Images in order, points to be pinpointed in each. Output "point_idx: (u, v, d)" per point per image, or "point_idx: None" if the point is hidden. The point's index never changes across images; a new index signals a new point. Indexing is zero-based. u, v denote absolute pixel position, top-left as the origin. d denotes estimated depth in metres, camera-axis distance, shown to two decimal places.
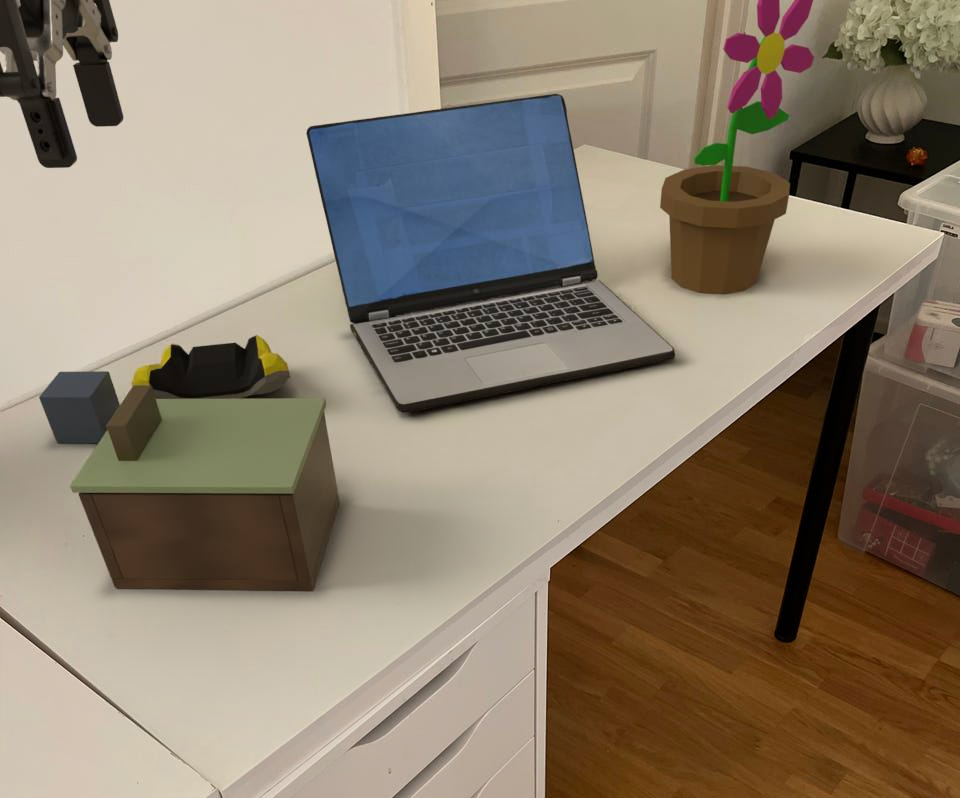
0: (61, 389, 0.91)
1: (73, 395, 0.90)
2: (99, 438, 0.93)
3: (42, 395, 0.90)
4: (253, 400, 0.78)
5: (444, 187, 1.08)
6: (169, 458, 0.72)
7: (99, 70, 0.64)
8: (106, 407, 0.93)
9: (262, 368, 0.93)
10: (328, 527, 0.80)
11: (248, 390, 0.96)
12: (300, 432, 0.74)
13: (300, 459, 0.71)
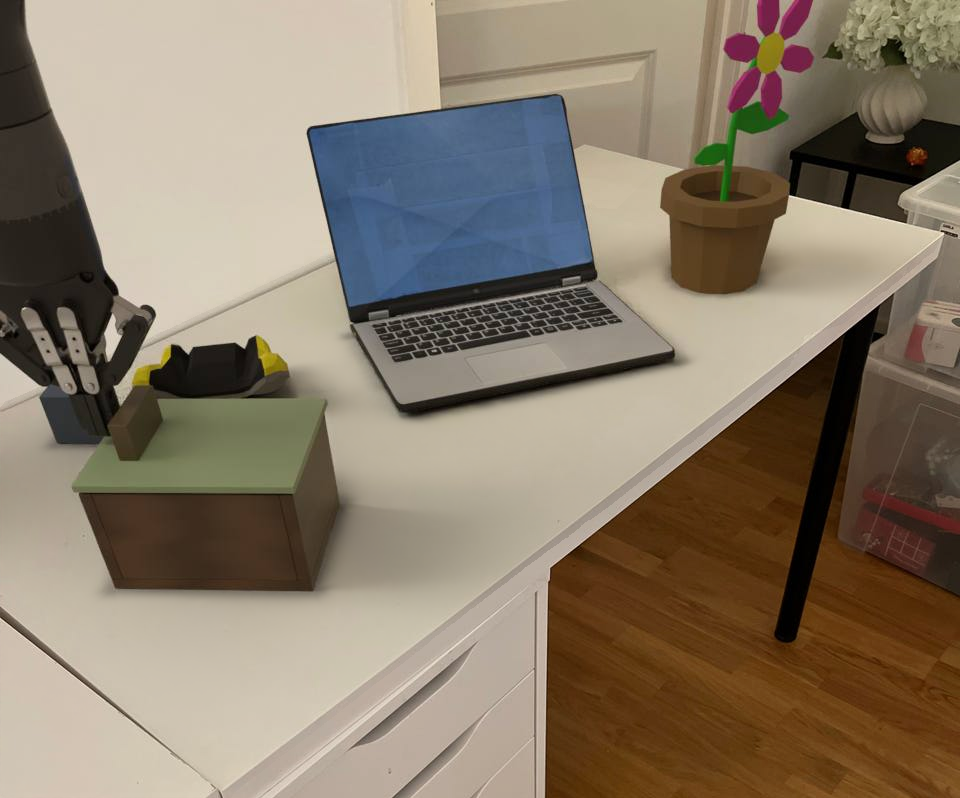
0: (61, 389, 0.91)
1: None
2: (99, 438, 0.93)
3: (42, 395, 0.90)
4: (254, 400, 0.78)
5: (444, 187, 1.08)
6: (170, 458, 0.72)
7: None
8: None
9: (262, 368, 0.93)
10: (328, 527, 0.80)
11: (248, 390, 0.96)
12: (301, 432, 0.74)
13: (301, 459, 0.71)
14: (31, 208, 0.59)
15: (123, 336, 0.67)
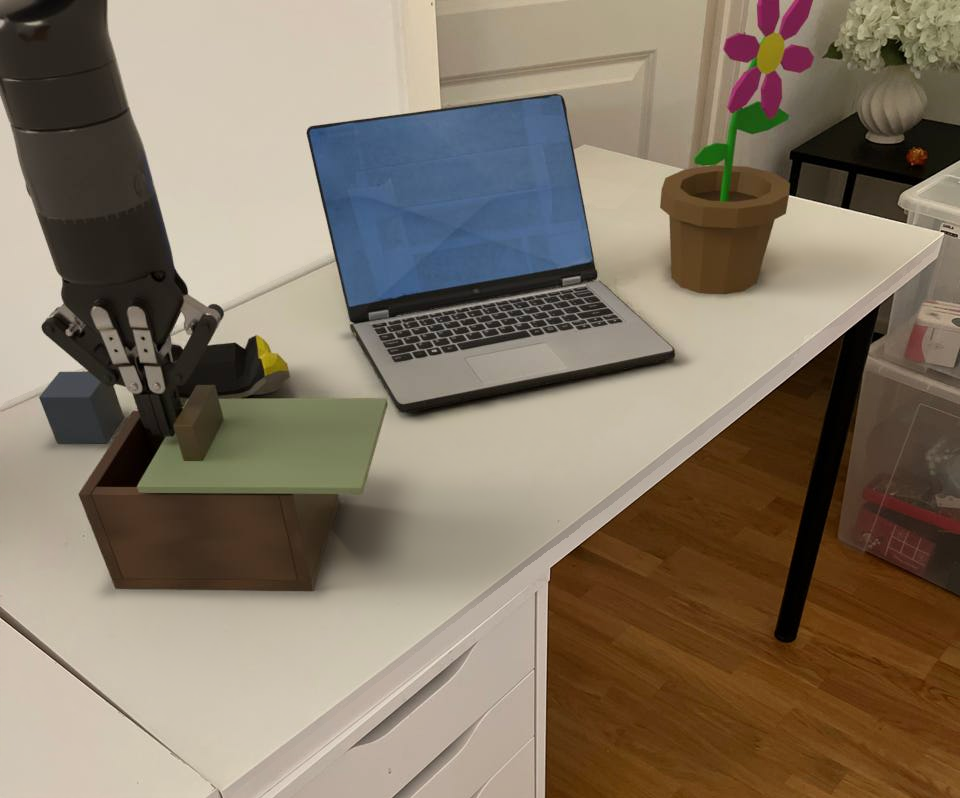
0: (61, 389, 0.91)
1: (73, 395, 0.90)
2: (99, 438, 0.93)
3: (42, 395, 0.90)
4: (314, 400, 0.77)
5: (444, 187, 1.08)
6: (234, 459, 0.71)
7: None
8: (106, 407, 0.93)
9: (262, 368, 0.93)
10: (328, 527, 0.80)
11: (248, 390, 0.96)
12: (365, 432, 0.73)
13: (367, 459, 0.71)
14: (108, 207, 0.59)
15: (192, 336, 0.66)
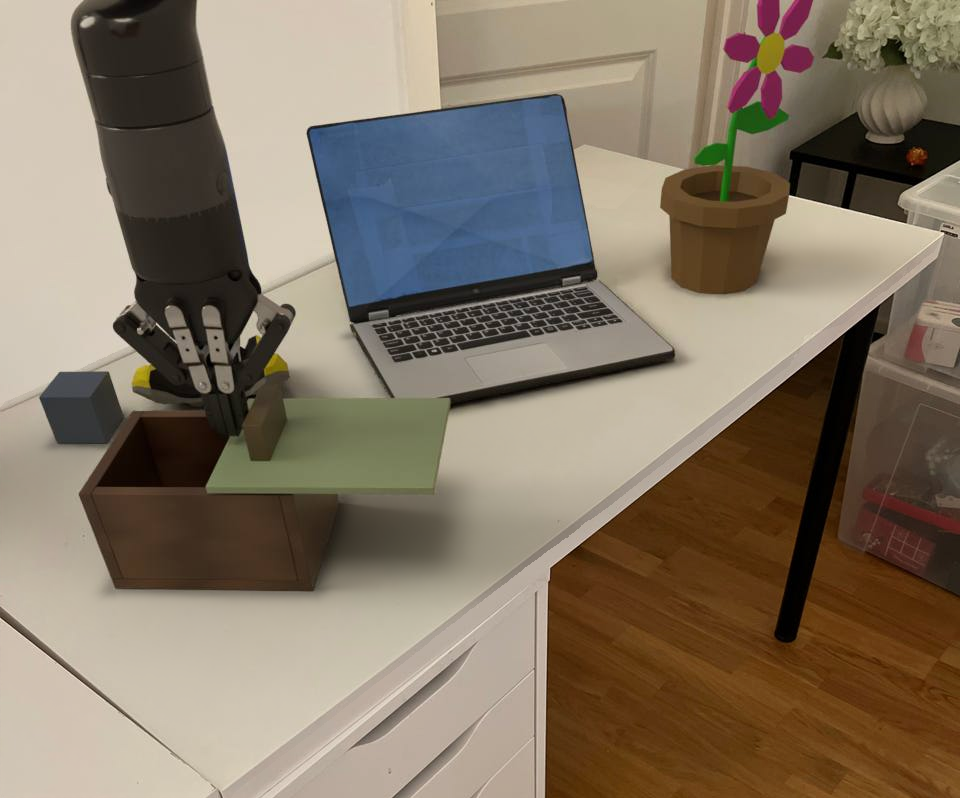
0: (61, 389, 0.91)
1: (73, 395, 0.90)
2: (99, 438, 0.93)
3: (42, 395, 0.90)
4: (377, 400, 0.77)
5: (444, 187, 1.08)
6: (302, 459, 0.71)
7: None
8: (106, 407, 0.93)
9: None
10: (328, 527, 0.80)
11: (248, 390, 0.96)
12: (431, 432, 0.73)
13: (436, 460, 0.70)
14: (191, 205, 0.59)
15: (265, 335, 0.66)
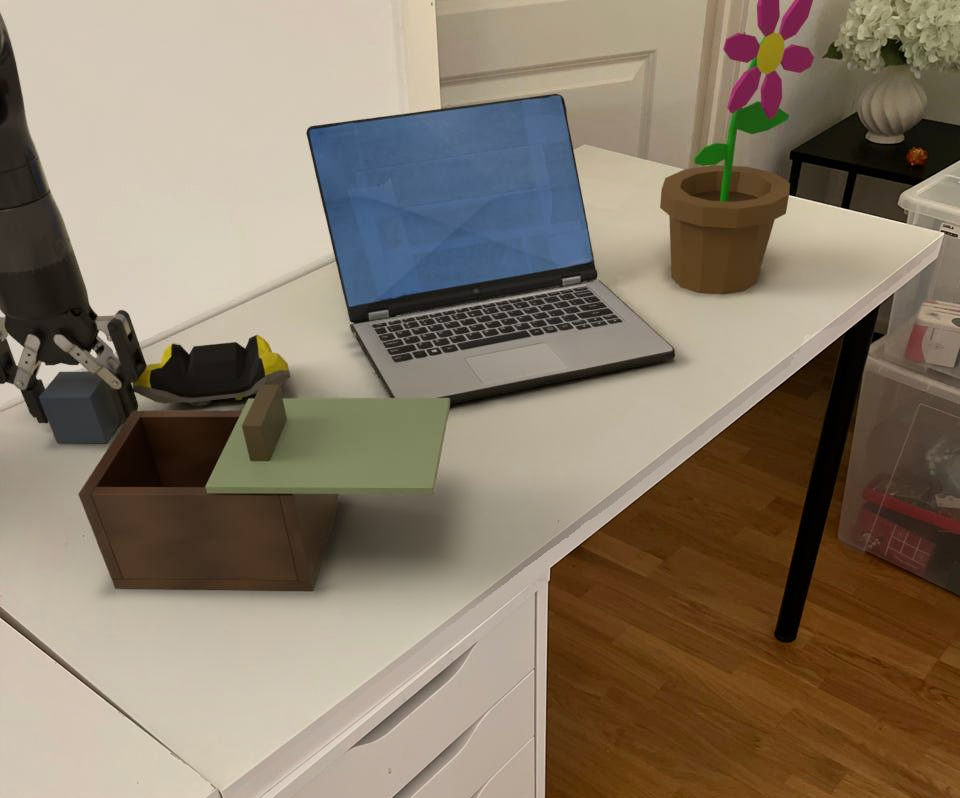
0: (61, 389, 0.91)
1: (73, 395, 0.90)
2: (99, 438, 0.93)
3: (42, 395, 0.90)
4: (376, 400, 0.77)
5: (444, 187, 1.08)
6: (301, 459, 0.71)
7: None
8: (106, 407, 0.93)
9: (262, 368, 0.93)
10: (328, 527, 0.80)
11: (249, 389, 0.96)
12: (431, 432, 0.73)
13: (436, 460, 0.70)
14: (34, 263, 0.80)
15: (113, 340, 0.87)
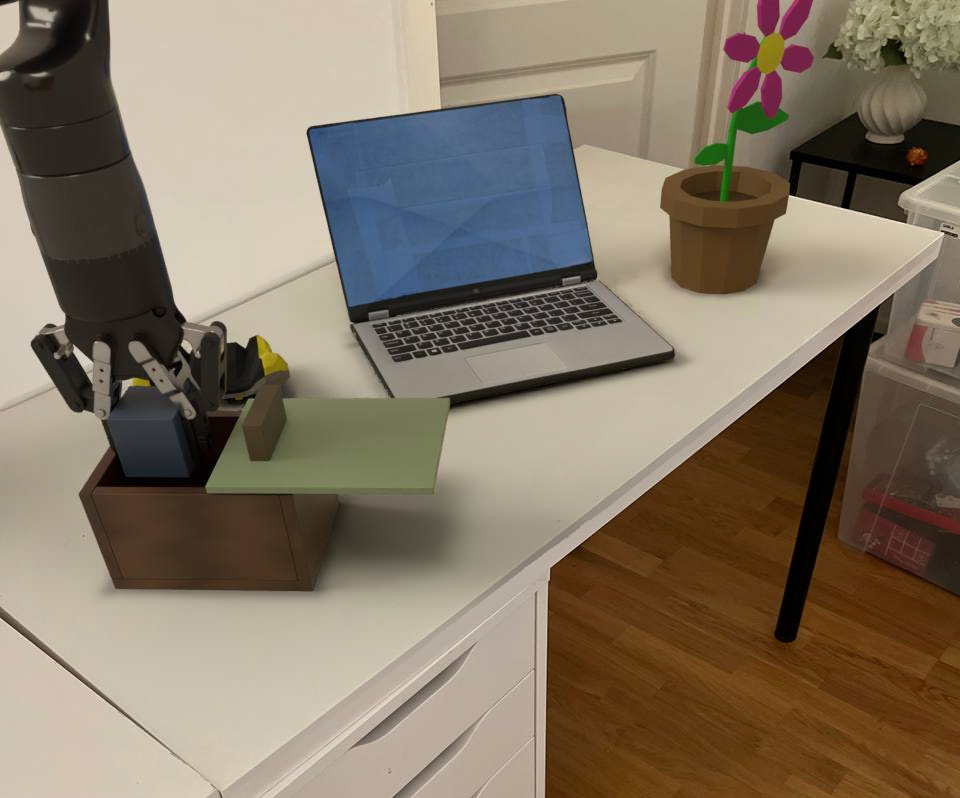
0: (134, 409, 0.71)
1: (150, 418, 0.70)
2: (180, 471, 0.73)
3: (110, 417, 0.70)
4: (376, 400, 0.77)
5: (444, 187, 1.08)
6: (301, 459, 0.71)
7: None
8: None
9: (262, 368, 0.93)
10: (328, 527, 0.80)
11: (249, 389, 0.96)
12: (431, 432, 0.73)
13: (436, 460, 0.70)
14: (111, 247, 0.61)
15: (202, 358, 0.68)
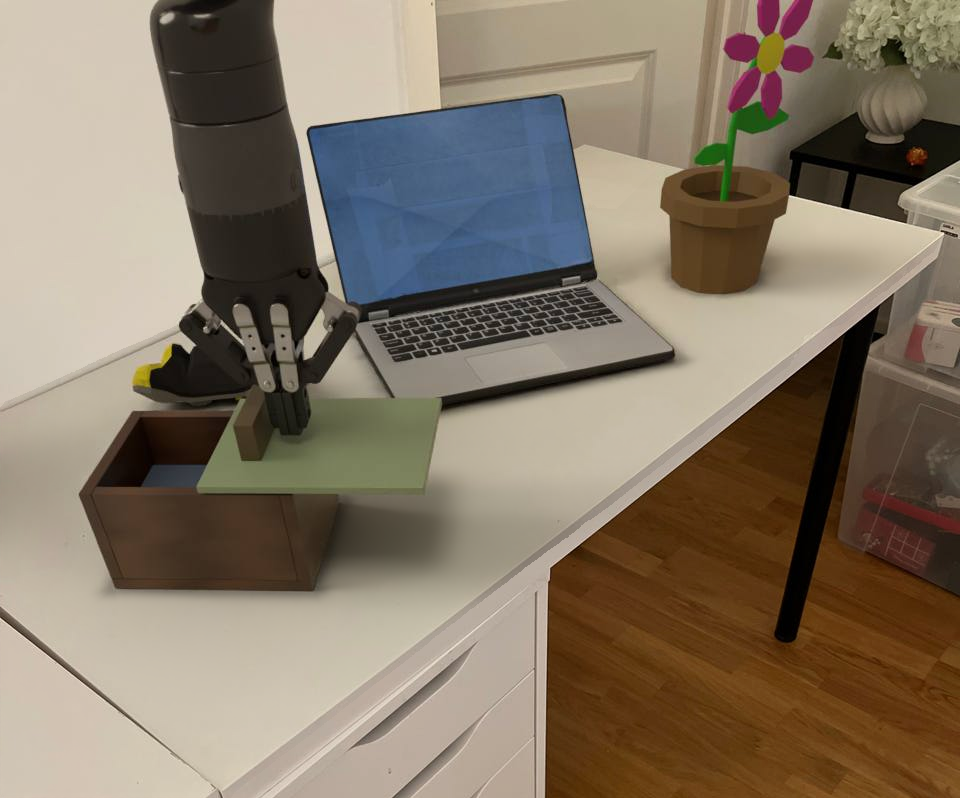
0: None
1: None
2: None
3: None
4: (368, 400, 0.77)
5: (444, 187, 1.08)
6: (293, 459, 0.71)
7: None
8: None
9: None
10: (328, 527, 0.80)
11: (249, 389, 0.96)
12: (422, 432, 0.73)
13: (427, 460, 0.70)
14: (266, 202, 0.58)
15: (332, 333, 0.66)
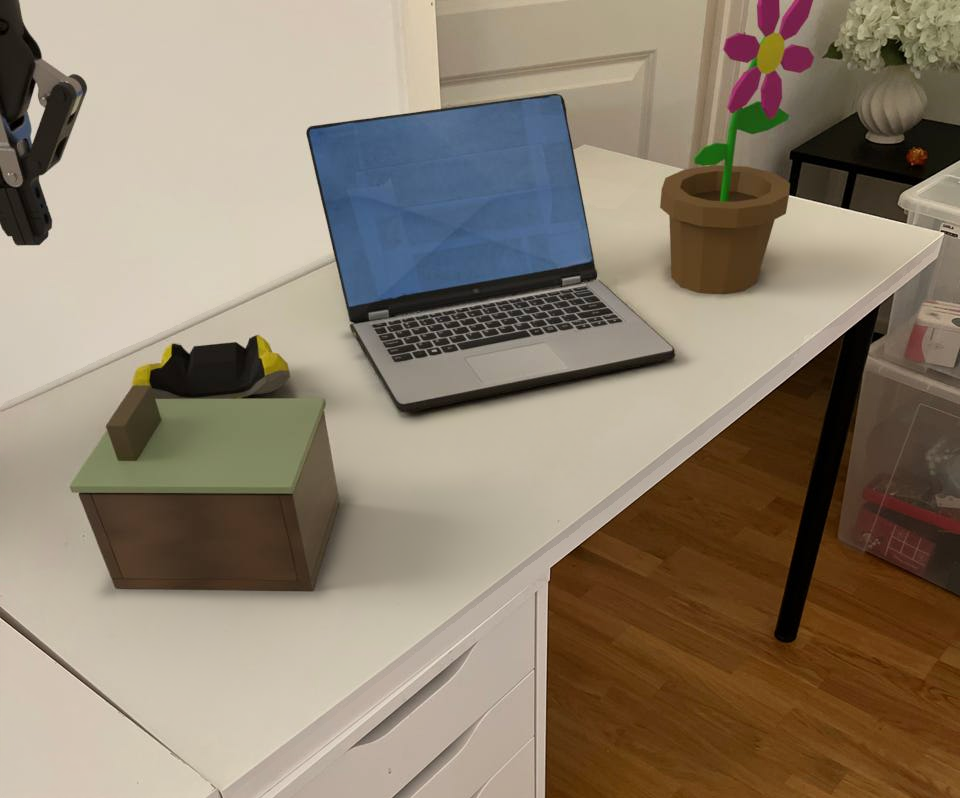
0: None
1: None
2: None
3: None
4: (253, 400, 0.78)
5: (444, 187, 1.08)
6: (168, 458, 0.72)
7: None
8: None
9: (262, 368, 0.93)
10: (328, 527, 0.80)
11: (249, 389, 0.96)
12: (300, 432, 0.74)
13: (299, 459, 0.71)
14: None
15: (47, 107, 0.57)
